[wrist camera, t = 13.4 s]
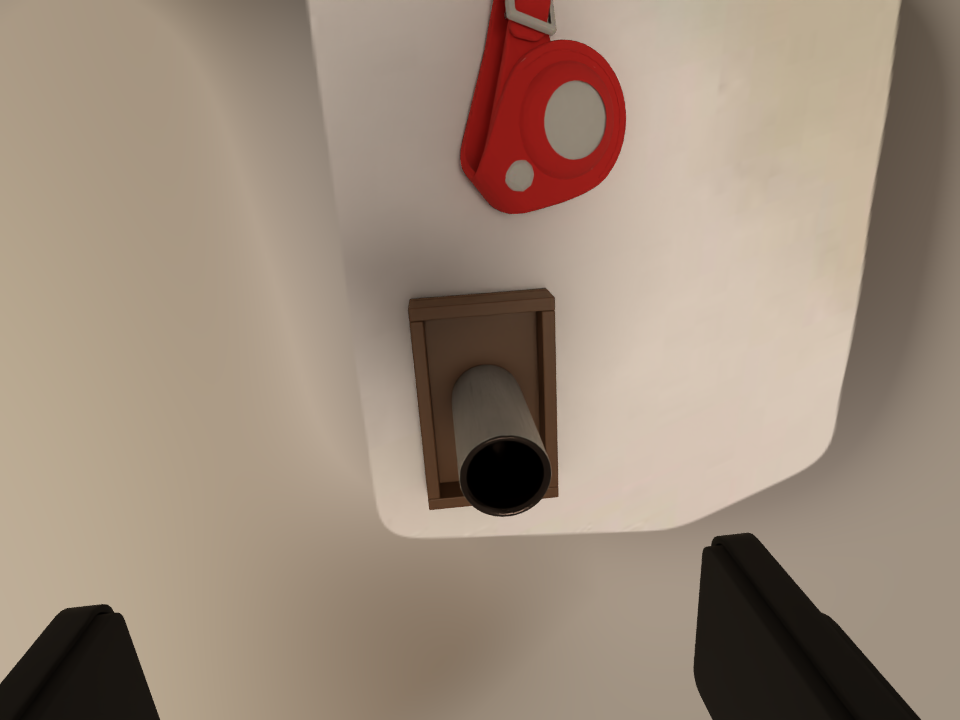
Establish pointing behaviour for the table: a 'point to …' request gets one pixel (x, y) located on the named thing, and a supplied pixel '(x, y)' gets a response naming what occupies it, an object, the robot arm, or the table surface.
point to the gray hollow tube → (497, 443)
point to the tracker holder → (539, 113)
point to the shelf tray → (473, 342)
